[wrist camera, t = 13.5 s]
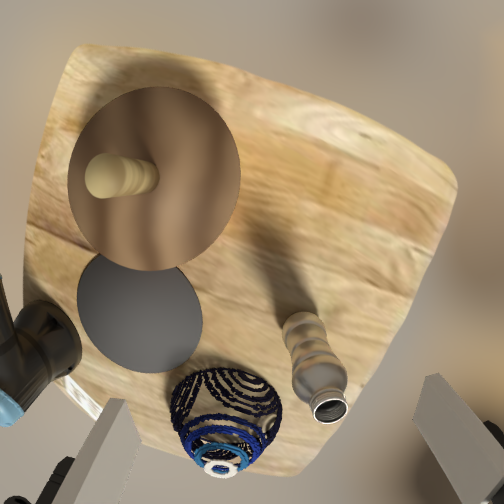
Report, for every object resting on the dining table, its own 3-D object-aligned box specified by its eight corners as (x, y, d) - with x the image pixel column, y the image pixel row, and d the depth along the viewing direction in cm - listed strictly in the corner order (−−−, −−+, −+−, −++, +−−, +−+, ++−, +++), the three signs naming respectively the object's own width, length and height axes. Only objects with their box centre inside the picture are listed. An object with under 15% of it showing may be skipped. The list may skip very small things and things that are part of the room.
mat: (95, 367, 47) (94, 369, 47) (67, 251, 43) (66, 252, 42) (210, 373, 47) (210, 374, 47) (194, 242, 43) (193, 243, 42)
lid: (90, 279, 34) (41, 311, 24) (64, 118, 30) (10, 103, 19) (254, 253, 34) (257, 285, 23) (225, 72, 29) (215, 26, 19)
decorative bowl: (158, 421, 50) (140, 474, 36) (194, 349, 47) (176, 406, 32) (249, 454, 52) (250, 508, 38) (300, 391, 49) (314, 450, 35)
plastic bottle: (298, 351, 47) (323, 441, 27) (271, 325, 45) (284, 413, 26) (330, 326, 46) (373, 408, 26) (303, 298, 45) (338, 375, 25)
